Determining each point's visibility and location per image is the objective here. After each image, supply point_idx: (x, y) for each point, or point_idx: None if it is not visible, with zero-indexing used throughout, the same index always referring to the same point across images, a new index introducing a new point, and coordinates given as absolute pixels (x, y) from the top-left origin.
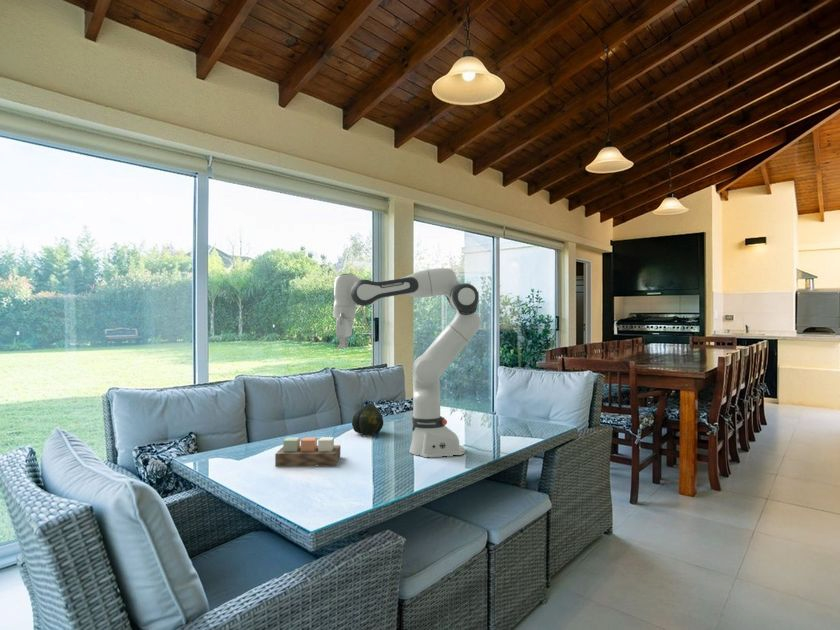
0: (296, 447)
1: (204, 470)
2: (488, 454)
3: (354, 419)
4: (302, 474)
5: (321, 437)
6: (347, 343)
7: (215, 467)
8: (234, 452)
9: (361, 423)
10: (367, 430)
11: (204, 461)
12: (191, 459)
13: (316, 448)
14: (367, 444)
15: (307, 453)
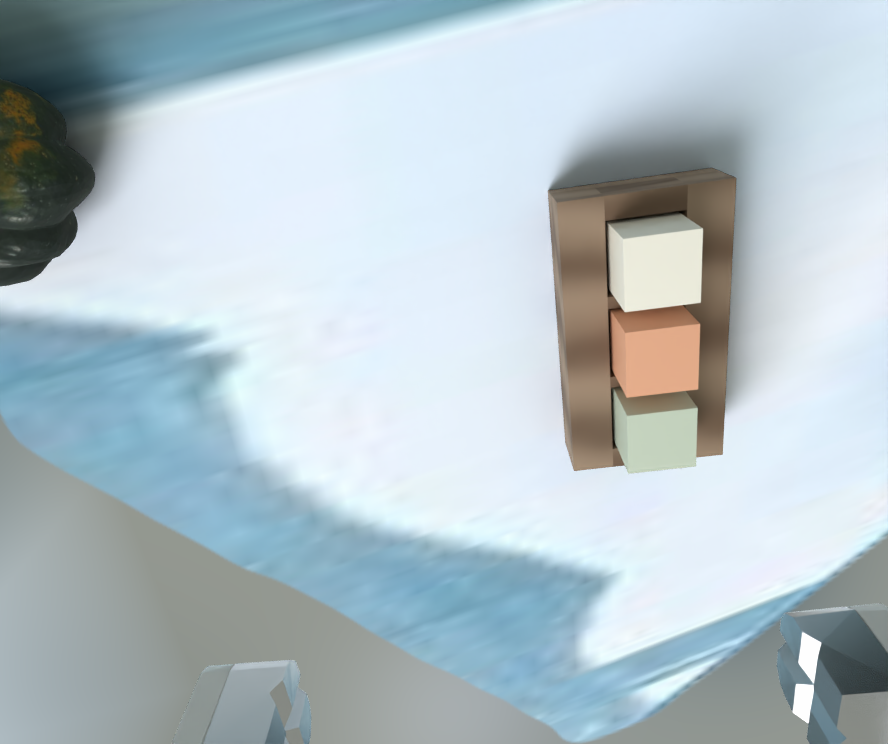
0: (686, 392)
1: (741, 621)
2: None
3: (18, 269)
4: (834, 279)
5: (630, 306)
6: (270, 737)
7: (706, 607)
8: (505, 630)
9: (70, 200)
10: (75, 152)
11: (630, 665)
12: (605, 707)
13: (623, 310)
14: (264, 103)
15: (724, 321)
